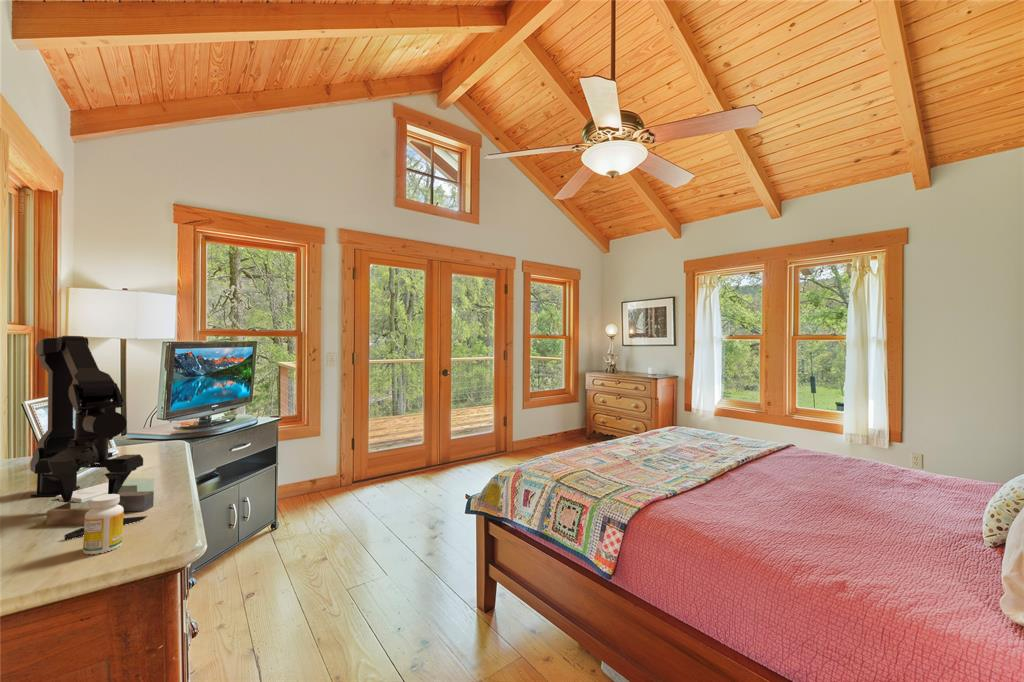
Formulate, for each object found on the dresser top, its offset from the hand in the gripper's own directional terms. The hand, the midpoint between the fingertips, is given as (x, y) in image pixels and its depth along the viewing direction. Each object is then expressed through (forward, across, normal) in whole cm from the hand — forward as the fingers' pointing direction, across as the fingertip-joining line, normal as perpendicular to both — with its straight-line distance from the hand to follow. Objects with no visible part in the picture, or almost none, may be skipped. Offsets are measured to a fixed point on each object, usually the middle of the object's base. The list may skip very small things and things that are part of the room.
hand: (89, 501), depth 100 cm
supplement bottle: (+2, +18, -21) cm, 28 cm away
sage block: (+2, +3, +9) cm, 10 cm away
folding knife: (+3, +12, -11) cm, 17 cm away
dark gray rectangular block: (+2, +9, 0) cm, 9 cm away
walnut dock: (+2, +3, -5) cm, 6 cm away
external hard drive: (+3, -8, +13) cm, 16 cm away
